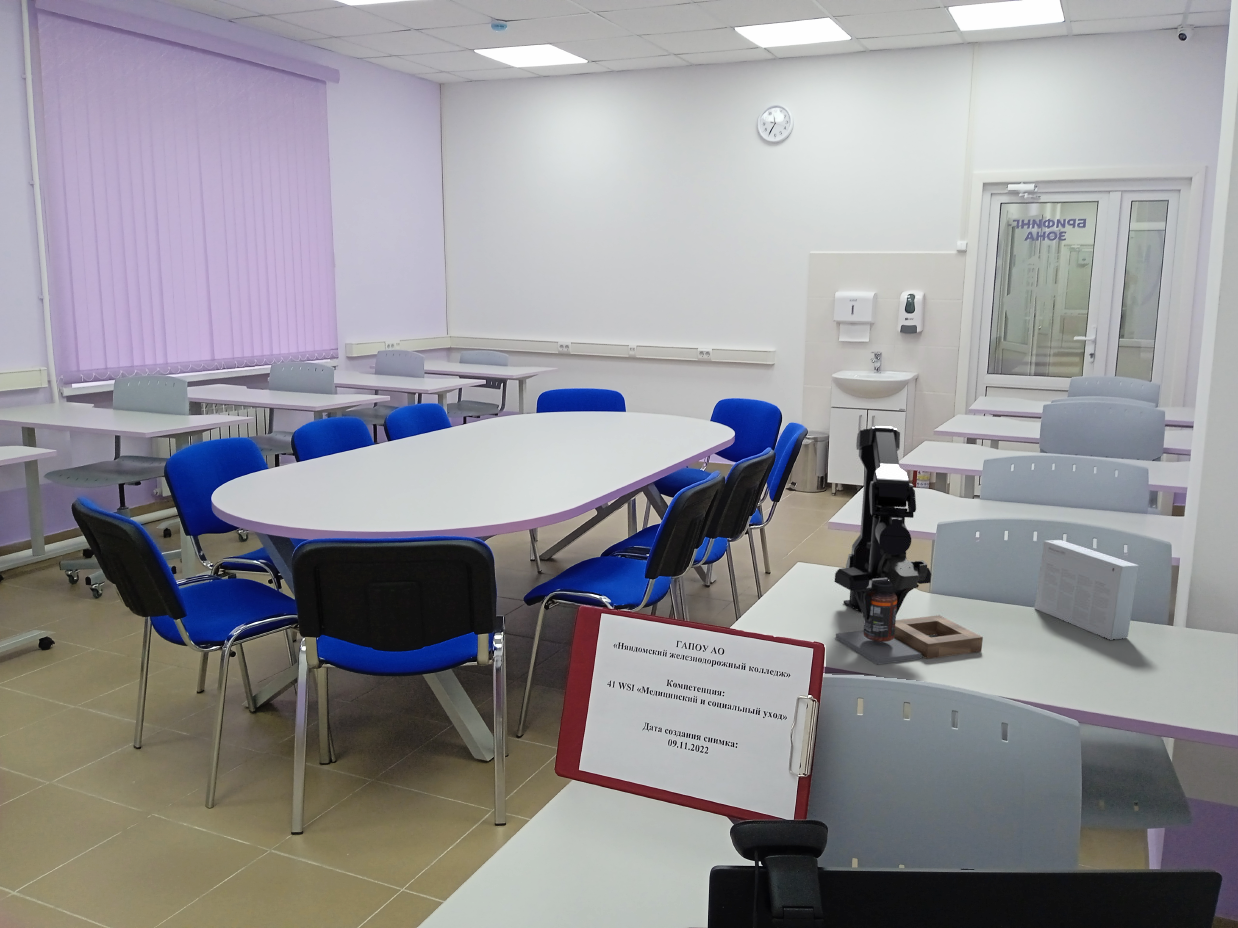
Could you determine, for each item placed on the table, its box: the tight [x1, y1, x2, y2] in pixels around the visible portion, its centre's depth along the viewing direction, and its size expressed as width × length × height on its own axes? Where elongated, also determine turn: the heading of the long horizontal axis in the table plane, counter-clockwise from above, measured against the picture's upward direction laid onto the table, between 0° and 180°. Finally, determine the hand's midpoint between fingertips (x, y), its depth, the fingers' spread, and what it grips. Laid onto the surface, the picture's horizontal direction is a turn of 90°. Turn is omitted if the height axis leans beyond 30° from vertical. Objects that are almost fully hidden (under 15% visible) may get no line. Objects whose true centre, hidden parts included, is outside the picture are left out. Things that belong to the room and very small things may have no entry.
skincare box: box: [1034, 539, 1140, 641], centre depth 209 cm, size 21×5×16 cm, turn 22°
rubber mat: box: [835, 629, 922, 665], centre depth 192 cm, size 14×10×1 cm
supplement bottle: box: [863, 580, 897, 642], centre depth 191 cm, size 6×6×11 cm
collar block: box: [894, 614, 984, 660], centre depth 196 cm, size 13×13×3 cm
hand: (879, 617), depth 191 cm, fingers closed on supplement bottle, 6 cm apart
